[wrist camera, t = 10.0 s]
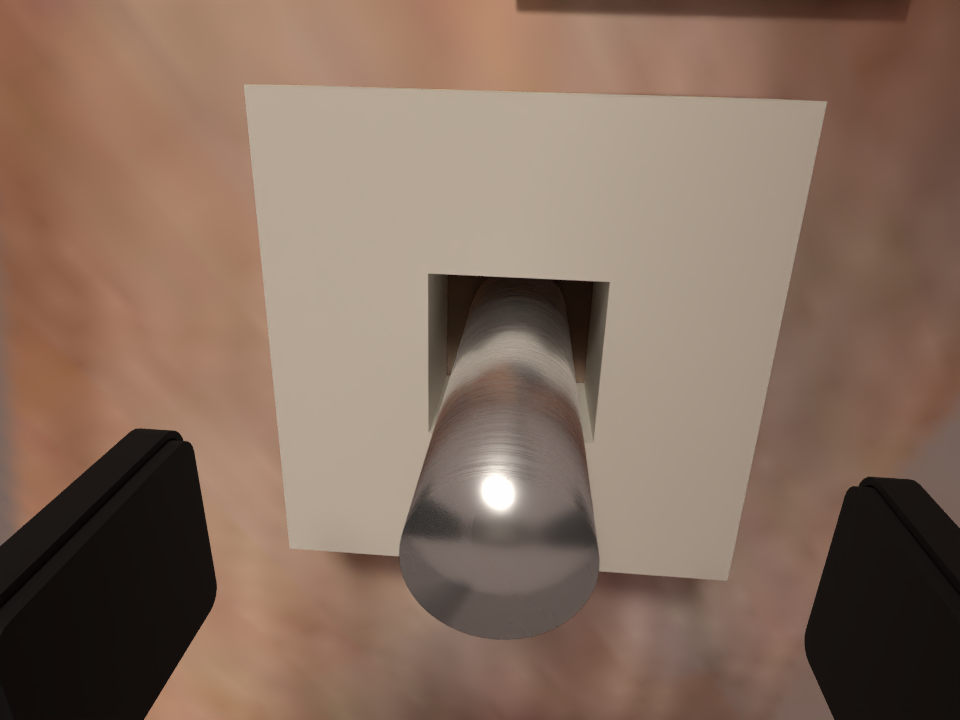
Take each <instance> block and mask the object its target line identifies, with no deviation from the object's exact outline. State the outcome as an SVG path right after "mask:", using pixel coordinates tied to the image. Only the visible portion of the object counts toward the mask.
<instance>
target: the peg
mask: <svg viewBox="0 0 960 720" xmlns="http://www.w3.org/2000/svg"><path fill="white" fill-rule="evenodd" d="M399 560H400V567H401V571H402V575H403V578H404V580H405V582H406V585H407V587H408V588H409V590H410V592H411V593H412V595H413V596H414V598H415V599H416V600H417V601H418V603H419V604H420V605H421V606H422V607H423V608H424V609H425V610H426V611H427V612H428V613H430V614H431V615H432V616H434V617H435V618H436V619H437V620H439V621H441V622H442V623H444V624H446V625H447V626H449V627H452V628H454V629H456V630H458V631H461V632H464V633H466V634H469V635H473V636H477V637H482V638H488V639H501V640H510V639H521V638H527V637H532V636H536V635H539V634H542V633H545V632H547V631H550V630H552V629H554V628H556V627H558V626H560V625H562V624H563V623H565V622H566V621H568V620H569V619H570V618H572V617H573V616H574V615H575V614H576V613H577V612H578V611H579V610H580V609H581V608H582V607H583V606H584V604H585V603H586V602H587V601H588V599H589V597H590V595H591V594H592V592H593V590H594V587H595V585H596V582H597V578H598V573H599V562H600V558H599V550H598V543H597V535H596V528H595V520H594V513H593V505H592V498H591V490H590V482H589V475H588V467H587V460H586V452H585V445H584V437H583V430H582V422H581V414H580V407H579V399H578V392H577V384H576V377H575V369H574V362H573V354H572V346H571V339H570V331H569V324H568V316H567V309H566V303H565V299H564V296H563V294H562V292H561V290H560V289H559V287H558V286H557V284H556V283H555V282H554V281H553V280H552V279H535V278H514V277H492V276H490V277H488V278H487V279H486V280H485V281H484V282H483V283H482V284H481V286H480V287H479V288H478V290H477V292H476V294H475V296H474V299H473V302H472V305H471V309H470V312H469V315H468V319H467V322H466V325H465V328H464V332H463V335H462V338H461V342H460V345H459V348H458V351H457V355H456V358H455V361H454V365H453V368H452V371H451V374H450V378H449V381H448V384H447V388H446V391H445V394H444V397H443V401H442V404H441V407H440V411H439V414H438V417H437V420H436V424H435V427H434V430H433V434H432V437H431V440H430V443H429V447H428V450H427V453H426V457H425V460H424V463H423V466H422V470H421V473H420V476H419V480H418V483H417V486H416V489H415V493H414V496H413V499H412V503H411V506H410V509H409V512H408V516H407V519H406V522H405V526H404V529H403V532H402V536H401V540H400V547H399Z"/></svg>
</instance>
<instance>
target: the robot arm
mask: <svg viewBox="0 0 960 720" xmlns="http://www.w3.org/2000/svg"><path fill="white" fill-rule="evenodd" d="M216 590H217V584H216V577H215V571H214V565H213V560H212V554H211V548H210V542H209V536H208V530H207V524H206V519H205V513H204V507H203V501H202V495H201V489H200V483H199V477H198V472H197V466H196V460H195V454H194V450H193V446H192V445H191V443H189V442H187V441H183V438H182V437H181V435H180V434H179V433H178V432H176V431H170V430H155V429H134V430H133V431H131V432H130V433H128V434H127V435H126V436H125V437H124V438H123V439H122V440H120V441H119V442H118V443H117V444H116V445H115V446H114V447H113V448H111V449H110V450H109V451H108V452H107V453H106V454H105V455H103V456H102V457H101V458H100V459H99V460H98V461H97V462H95V463H94V464H93V465H92V466H91V467H90V468H89V469H88V470H86V471H85V472H84V473H83V474H82V475H81V476H80V477H78V478H77V479H76V480H75V481H74V482H73V483H72V484H70V485H69V486H68V487H67V488H66V489H65V490H64V491H63V492H61V493H60V494H59V495H58V496H57V497H56V498H55V499H53V500H52V501H51V502H50V503H49V504H48V505H47V506H45V507H44V508H43V509H42V510H41V511H40V512H39V513H38V514H36V515H35V516H34V517H33V518H32V519H31V520H30V521H28V522H27V523H26V524H25V525H24V526H23V527H22V528H21V529H19V530H18V531H17V532H16V533H15V534H14V535H13V536H11V537H10V538H9V539H8V540H7V541H6V542H5V543H3V544H2V545H1V546H0V720H144V718H145V717H146V715H147V714H148V712H149V710H150V709H151V707H152V705H153V704H154V702H155V701H156V699H157V697H158V696H159V694H160V692H161V691H162V689H163V687H164V686H165V684H166V683H167V681H168V679H169V678H170V676H171V674H172V673H173V671H174V670H175V668H176V666H177V665H178V663H179V661H180V660H181V658H182V656H183V655H184V653H185V652H186V650H187V648H188V647H189V645H190V643H191V642H192V640H193V639H194V637H195V635H196V634H197V632H198V630H199V629H200V627H201V625H202V624H203V622H204V621H205V619H206V617H207V616H208V614H209V612H210V611H211V609H212V607H213V604H214V601H215V597H216ZM805 651H806V656H807V659H808V662H809V664H810V666H811V668H812V671H813V673H814V675H815V677H816V680H817V682H818V684H819V686H820V689H821V691H822V693H823V695H824V697H825V699H826V702H827V704H828V706H829V709H830V711H831V713H832V715H833V717H834V720H960V528H959V527H958V526H957V525H956V524H955V523H954V522H953V521H952V520H951V518H950V517H949V516H948V515H947V514H946V513H945V512H944V511H943V510H942V509H941V507H940V506H939V505H938V504H937V503H936V502H935V501H934V500H933V499H932V498H931V496H930V495H929V494H928V493H927V492H926V491H925V490H924V489H923V488H922V486H921V485H920V484H918V483H917V482H916V481H914V480H909V479H895V478H880V477H867V478H864V479H863V480H862V482H861V483H860V484H859V487H857V486H853V487H850V488H849V489H848V491H847V492H846V495H845V498H844V501H843V504H842V508H841V511H840V515H839V518H838V522H837V525H836V528H835V532H834V535H833V539H832V542H831V546H830V549H829V552H828V556H827V559H826V563H825V566H824V570H823V573H822V576H821V580H820V583H819V587H818V590H817V594H816V597H815V601H814V604H813V607H812V611H811V614H810V618H809V621H808V625H807V628H806V632H805Z"/></svg>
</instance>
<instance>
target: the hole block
mask: <svg viewBox="0 0 960 720" xmlns="http://www.w3.org/2000/svg"><path fill="white" fill-rule="evenodd" d="M244 91H245V101H246V111H247V121H248V132H249V142H250V152H251V162H252V172H253V182H254V192H255V202H256V212H257V222H258V233H259V243H260V253H261V263H262V273H263V283H264V293H265V303H266V313H267V323H268V334H269V344H270V354H271V364H272V374H273V384H274V394H275V404H276V414H277V424H278V435H279V445H280V455H281V465H282V475H283V485H284V495H285V505H286V515H287V526H288V536H289V546H290V548H291V549H305V550H318V551H332V552H345V553H359V554H372V555H386V556H399V547H400V540H401V536H402V532H403V529H404V526H405V522H406V519H407V516H408V512H409V509H410V506H411V503H412V499H413V496H414V493H415V489H416V486H417V483H418V480H419V476H420V473H421V470H422V466H423V463H424V460H425V457H426V453H427V450H428V447H429V443H430V440H431V437H432V434H433V430H434V427H435V424H436V420H437V417H438V414H439V411H440V407H441V404H442V401H443V397H444V394H445V391H446V388H447V384H448V381H449V378H450V375H447V290H448V274H450V275H471V276H492V277H514V278H535V279H556V280H578V281H593V292H592V303H591V313H590V324H589V335H588V346H587V356H586V367H585V378H584V383H576V384H577V392H578V399H579V407H580V414H581V422H582V430H583V437H584V445H585V452H586V460H587V467H588V475H589V482H590V490H591V498H592V505H593V513H594V520H595V528H596V535H597V543H598V550H599V558H600V562H599V571H601V572H615V573H628V574H642V575H655V576H669V577H682V578H696V579H709V580H722V581H728V576H729V571H730V567H731V562H732V557H733V552H734V547H735V542H736V538H737V533H738V528H739V523H740V518H741V514H742V509H743V504H744V499H745V494H746V490H747V485H748V480H749V475H750V470H751V466H752V461H753V456H754V451H755V446H756V441H757V437H758V432H759V427H760V422H761V417H762V413H763V408H764V403H765V398H766V393H767V389H768V384H769V379H770V374H771V369H772V365H773V360H774V355H775V350H776V345H777V341H778V336H779V331H780V326H781V321H782V316H783V312H784V307H785V302H786V297H787V292H788V288H789V283H790V278H791V273H792V268H793V264H794V259H795V254H796V249H797V244H798V240H799V235H800V230H801V225H802V220H803V215H804V211H805V206H806V201H807V196H808V191H809V187H810V182H811V177H812V172H813V167H814V163H815V158H816V153H817V148H818V143H819V139H820V134H821V129H822V124H823V119H824V114H825V110H826V105H827V101H807V100H785V99H760V98H726V97H691V96H657V95H622V94H588V93H554V92H519V91H485V90H450V89H416V88H381V87H347V86H312V85H249V84H244Z"/></svg>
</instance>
